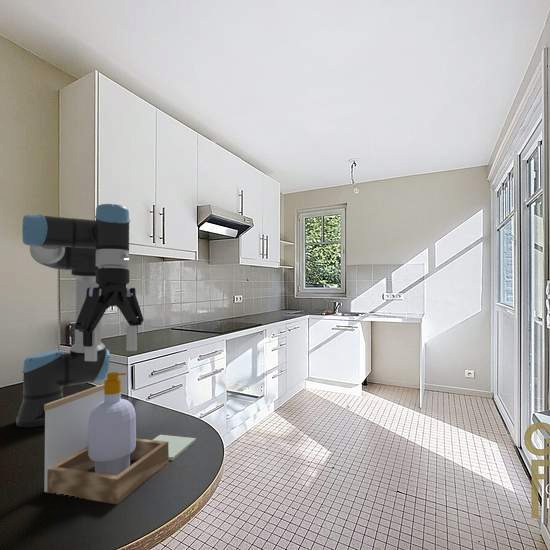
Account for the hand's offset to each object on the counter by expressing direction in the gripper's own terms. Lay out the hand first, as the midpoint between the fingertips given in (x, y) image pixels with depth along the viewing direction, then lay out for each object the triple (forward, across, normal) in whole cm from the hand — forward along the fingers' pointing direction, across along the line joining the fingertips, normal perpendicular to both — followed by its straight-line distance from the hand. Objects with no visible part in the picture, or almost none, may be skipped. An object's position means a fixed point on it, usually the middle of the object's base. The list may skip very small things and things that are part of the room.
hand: (112, 355), depth 84 cm
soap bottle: (+29, 0, 0) cm, 29 cm away
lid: (+28, 0, +10) cm, 30 cm away
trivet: (+28, +16, -4) cm, 33 cm away
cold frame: (+28, 0, 0) cm, 28 cm away
